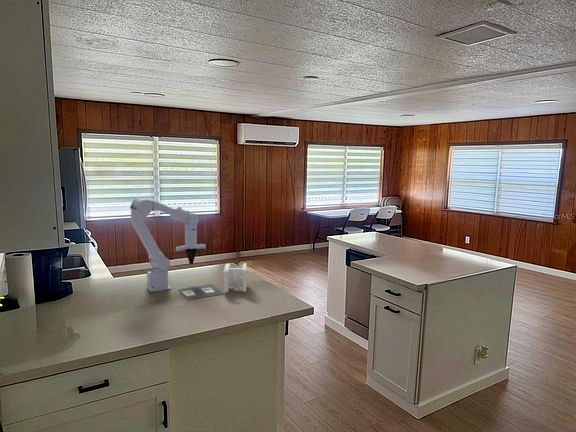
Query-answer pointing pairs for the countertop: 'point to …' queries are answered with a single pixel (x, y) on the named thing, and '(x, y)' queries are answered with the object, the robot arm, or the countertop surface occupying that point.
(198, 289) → the label mat
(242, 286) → the cable organizer
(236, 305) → the countertop surface
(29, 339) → the countertop surface
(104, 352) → the countertop surface
